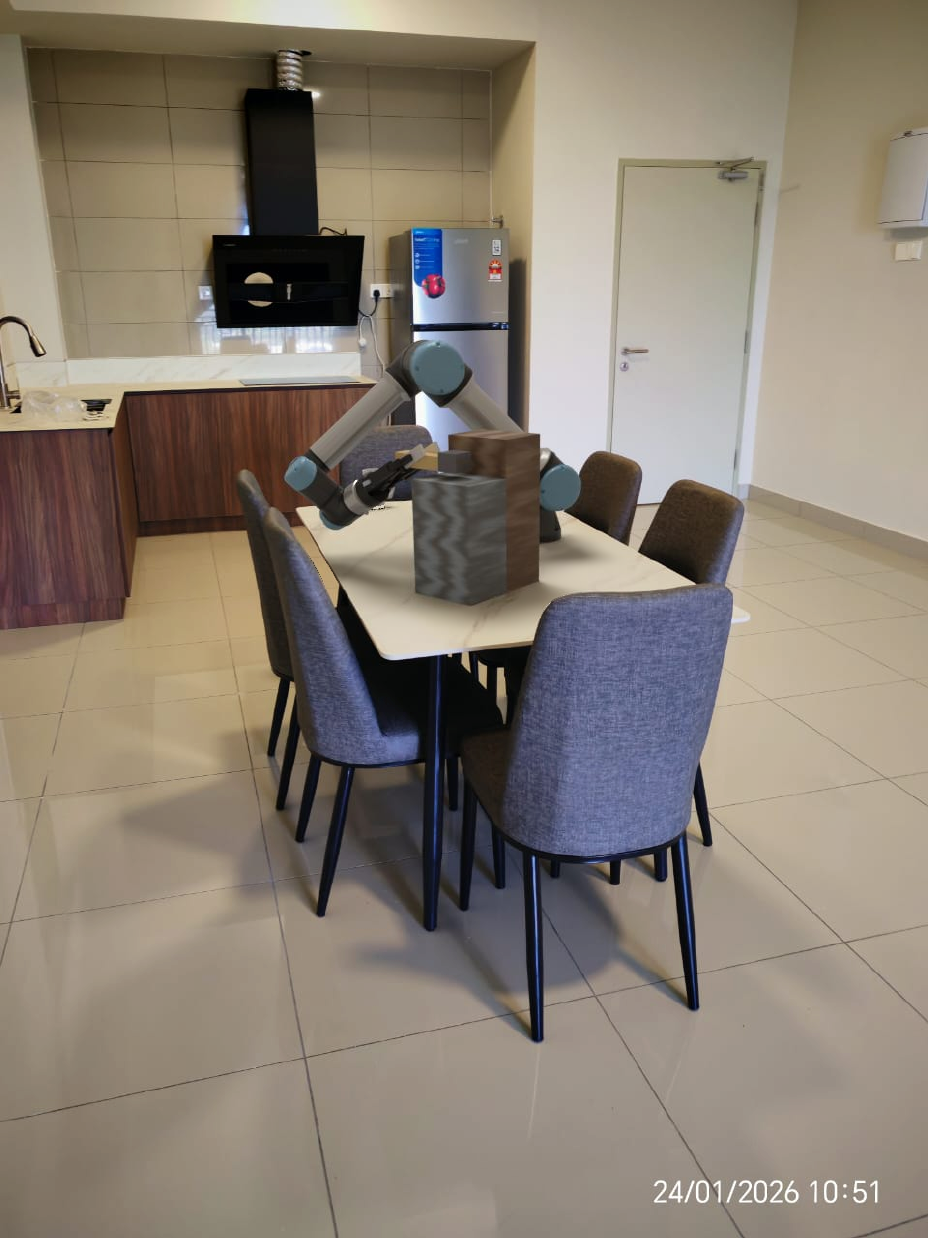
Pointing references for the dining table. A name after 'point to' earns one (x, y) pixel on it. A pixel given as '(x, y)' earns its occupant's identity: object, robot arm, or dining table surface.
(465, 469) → the block
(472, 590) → the stand
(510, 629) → the dining table surface
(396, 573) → the dining table surface
